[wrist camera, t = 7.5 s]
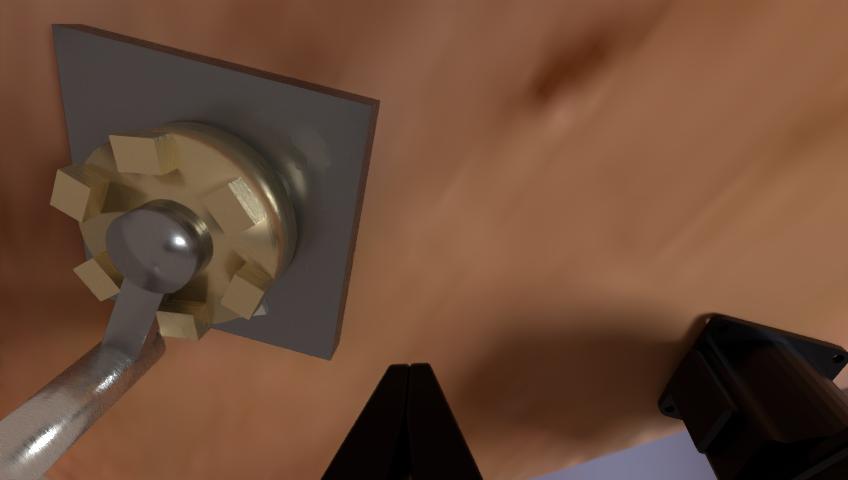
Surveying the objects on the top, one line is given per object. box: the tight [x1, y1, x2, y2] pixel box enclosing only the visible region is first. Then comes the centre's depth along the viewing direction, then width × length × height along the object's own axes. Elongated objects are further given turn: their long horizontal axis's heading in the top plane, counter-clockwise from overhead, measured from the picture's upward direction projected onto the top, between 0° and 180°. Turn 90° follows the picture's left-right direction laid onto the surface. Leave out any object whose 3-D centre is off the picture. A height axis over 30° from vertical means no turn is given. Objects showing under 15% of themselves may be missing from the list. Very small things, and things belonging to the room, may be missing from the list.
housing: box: [52, 24, 380, 361], centre depth 22 cm, size 14×14×2 cm
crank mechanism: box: [0, 122, 297, 480], centre depth 18 cm, size 14×9×10 cm, turn 147°
